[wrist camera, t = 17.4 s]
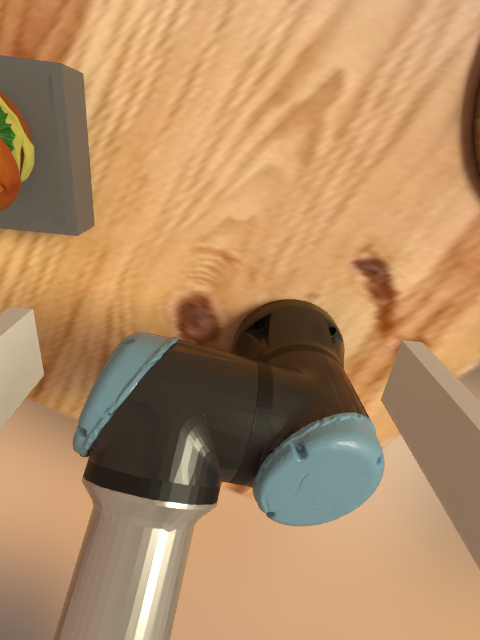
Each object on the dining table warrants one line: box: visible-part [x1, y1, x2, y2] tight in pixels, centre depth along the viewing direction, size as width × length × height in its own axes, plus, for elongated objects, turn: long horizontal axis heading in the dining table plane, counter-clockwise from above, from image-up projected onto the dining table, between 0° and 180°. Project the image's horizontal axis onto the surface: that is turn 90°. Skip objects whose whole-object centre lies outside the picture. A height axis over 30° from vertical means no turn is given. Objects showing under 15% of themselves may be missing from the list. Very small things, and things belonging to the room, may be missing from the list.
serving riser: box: [0, 55, 94, 236], centre depth 36 cm, size 15×15×5 cm
